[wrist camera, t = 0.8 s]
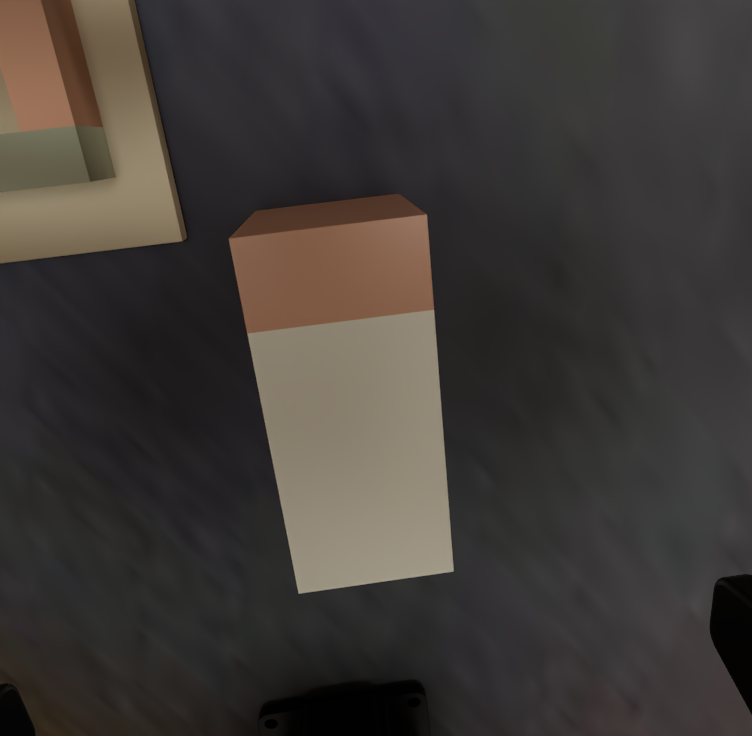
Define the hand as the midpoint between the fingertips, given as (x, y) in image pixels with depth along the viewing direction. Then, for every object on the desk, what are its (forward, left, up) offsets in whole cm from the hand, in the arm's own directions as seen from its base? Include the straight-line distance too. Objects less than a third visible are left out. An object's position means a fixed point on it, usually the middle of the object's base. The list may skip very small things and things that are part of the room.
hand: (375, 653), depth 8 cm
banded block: (0, 0, -11) cm, 11 cm away
